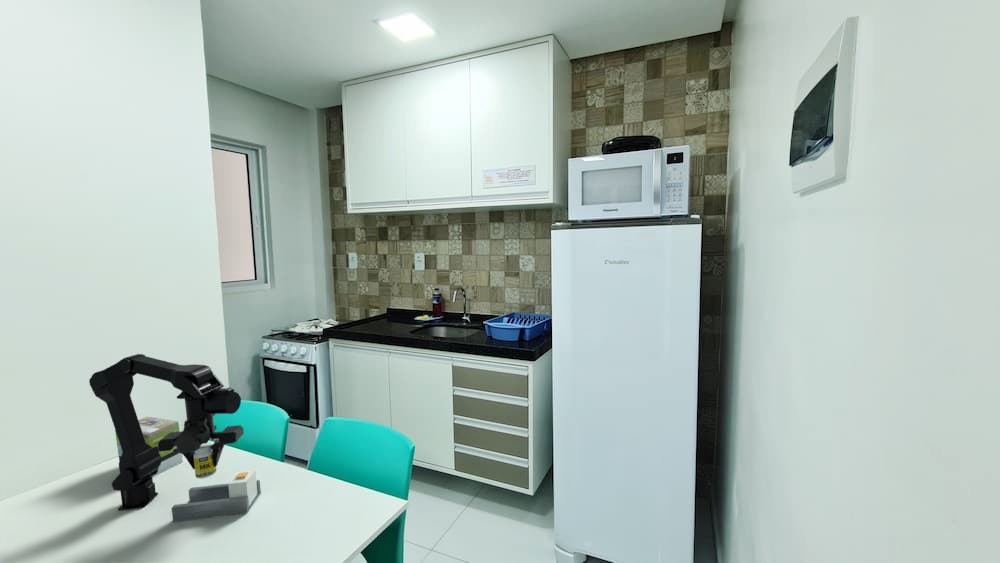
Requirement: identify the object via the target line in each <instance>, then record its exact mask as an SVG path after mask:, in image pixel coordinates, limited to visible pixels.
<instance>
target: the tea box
mask: <svg viewBox="0 0 1000 563" xmlns="http://www.w3.org/2000/svg"><path fill="white" fill-rule="evenodd" d="M138 421H139V424H140V427H141V430H142V433H143V436H144V439H145V442H146V443H147V444H148V445H150V446H152V447H154V446H157V447H158V443H159V441H160V440H161V439H162V438H164V437H165V436H166V435H168V434H169V433H172V432H180V426H179V425H180V424H179V421H177V420H170V419H166V418H164V419H163V418H158V417H152V416H145V417H143V418H141V419H138ZM114 430H115V429H114ZM114 432H115V437H116V438H115V441H116V447H117V454H118V460H119V461H118V463H119V462H120V459H121V456H122V448H121V445H120V442H119V439H118V436H117V433H116V430H115V431H114ZM174 449H175V447H173V448H172V449H171V450H169V451H160V452H159V454H160V456H161V457H162V459H161V465H160V466H159V468H158V472H157V474H156V475H153V476H152V478H154V477H156V476H158V475H160V474H162V473H164V472H166V471H167V470H170V469H172V468H174V467H175V466H177V465H179V464H181V463H183V462H184V461H183V454H181V453H178V452H173V450H174Z"/></svg>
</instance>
